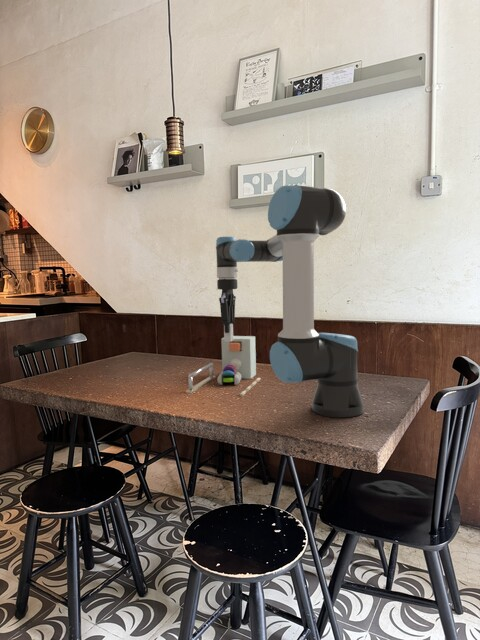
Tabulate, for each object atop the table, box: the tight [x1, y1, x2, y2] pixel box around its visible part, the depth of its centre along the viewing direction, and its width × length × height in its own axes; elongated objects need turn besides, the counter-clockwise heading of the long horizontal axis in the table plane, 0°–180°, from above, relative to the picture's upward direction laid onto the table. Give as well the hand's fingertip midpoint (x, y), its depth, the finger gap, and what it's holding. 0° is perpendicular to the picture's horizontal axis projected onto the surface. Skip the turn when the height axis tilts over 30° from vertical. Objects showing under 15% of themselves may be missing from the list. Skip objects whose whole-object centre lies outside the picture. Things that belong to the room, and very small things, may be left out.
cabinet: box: [220, 335, 257, 380], centre depth 180 cm, size 8×12×16 cm
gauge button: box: [229, 342, 241, 351], centre depth 175 cm, size 3×4×3 cm
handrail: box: [185, 362, 217, 394], centre depth 168 cm, size 25×2×6 cm, turn 163°
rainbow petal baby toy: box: [216, 365, 242, 386], centre depth 169 cm, size 8×10×7 cm
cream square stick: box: [239, 377, 262, 397], centre depth 163 cm, size 25×1×1 cm, turn 163°
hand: (228, 340), depth 168 cm, fingers closed
